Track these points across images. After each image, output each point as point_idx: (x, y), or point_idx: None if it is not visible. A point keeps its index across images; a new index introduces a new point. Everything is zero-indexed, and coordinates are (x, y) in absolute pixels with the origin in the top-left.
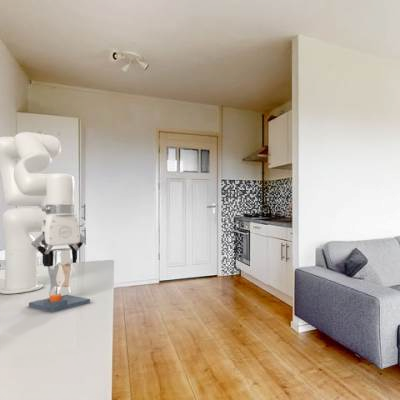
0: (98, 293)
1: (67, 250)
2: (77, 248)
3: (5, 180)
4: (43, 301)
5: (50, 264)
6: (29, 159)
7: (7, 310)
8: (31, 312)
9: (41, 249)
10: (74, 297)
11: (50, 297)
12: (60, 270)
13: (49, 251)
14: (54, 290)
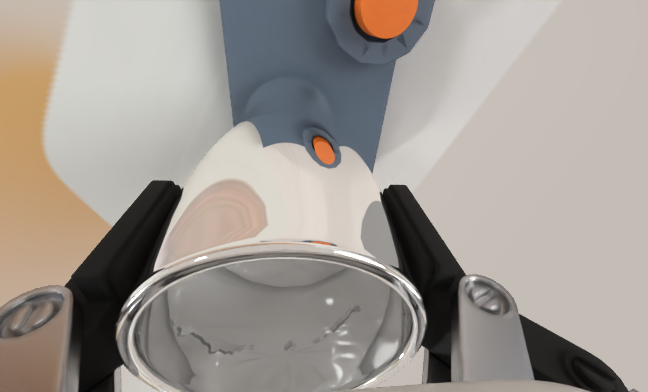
0: (104, 114)
1: (252, 237)
2: (13, 324)
3: None
4: (346, 138)
5: (397, 191)
6: None
7: (413, 185)
8: (419, 79)
9: (566, 353)
10: (245, 74)
11: (416, 5)
12: (329, 126)
13: (466, 305)
14: (330, 116)
